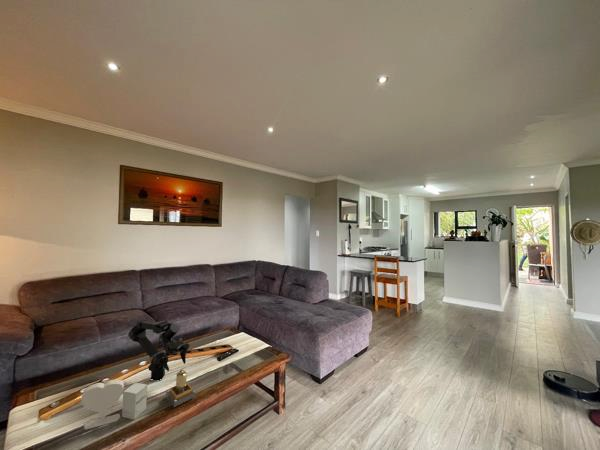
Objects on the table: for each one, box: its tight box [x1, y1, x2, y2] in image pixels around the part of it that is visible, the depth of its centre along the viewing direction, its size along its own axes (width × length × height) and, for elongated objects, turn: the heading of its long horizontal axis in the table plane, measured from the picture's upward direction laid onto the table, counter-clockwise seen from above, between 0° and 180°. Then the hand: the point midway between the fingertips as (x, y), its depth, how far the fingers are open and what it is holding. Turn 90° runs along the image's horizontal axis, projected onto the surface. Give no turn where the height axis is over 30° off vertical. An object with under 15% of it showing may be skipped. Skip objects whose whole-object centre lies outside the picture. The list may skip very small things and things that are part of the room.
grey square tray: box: [165, 381, 196, 408], centre depth 136 cm, size 11×11×5 cm
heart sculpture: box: [80, 379, 125, 430], centre depth 118 cm, size 16×5×18 cm, turn 118°
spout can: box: [175, 369, 188, 395], centre depth 136 cm, size 6×5×12 cm
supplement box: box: [121, 382, 148, 420], centre depth 124 cm, size 7×7×13 cm
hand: (177, 367), depth 141 cm, fingers open, 9 cm apart
